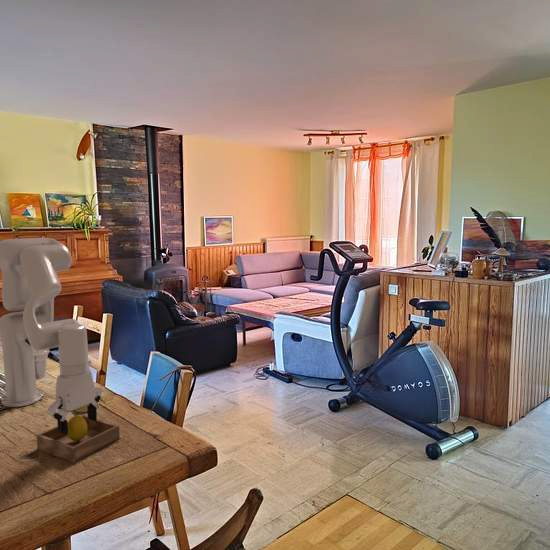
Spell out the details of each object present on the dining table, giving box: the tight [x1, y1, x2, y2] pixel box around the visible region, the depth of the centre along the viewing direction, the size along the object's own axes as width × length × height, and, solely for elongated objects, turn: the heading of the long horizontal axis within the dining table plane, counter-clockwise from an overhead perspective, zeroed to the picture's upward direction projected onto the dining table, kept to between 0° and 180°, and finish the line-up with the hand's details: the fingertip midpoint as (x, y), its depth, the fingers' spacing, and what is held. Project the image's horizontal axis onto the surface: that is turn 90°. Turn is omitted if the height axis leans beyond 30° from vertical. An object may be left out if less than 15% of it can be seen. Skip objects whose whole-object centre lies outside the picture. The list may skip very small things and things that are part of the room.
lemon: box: [67, 414, 88, 442], centre depth 137 cm, size 6×6×8 cm
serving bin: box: [36, 414, 121, 464], centre depth 137 cm, size 16×16×4 cm
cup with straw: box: [30, 345, 50, 379], centre depth 193 cm, size 8×9×20 cm
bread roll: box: [75, 401, 100, 413], centre depth 163 cm, size 8×9×4 cm
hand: (78, 426), depth 137 cm, fingers open, 9 cm apart
